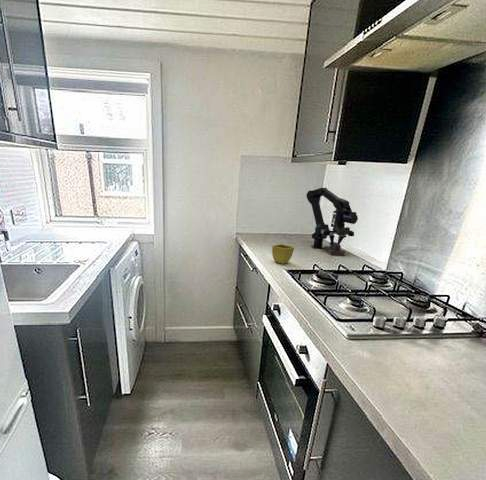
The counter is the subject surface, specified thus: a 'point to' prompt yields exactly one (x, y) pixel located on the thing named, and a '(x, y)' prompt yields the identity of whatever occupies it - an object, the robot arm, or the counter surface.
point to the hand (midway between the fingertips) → (334, 246)
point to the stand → (334, 251)
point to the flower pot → (282, 253)
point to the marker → (335, 246)
